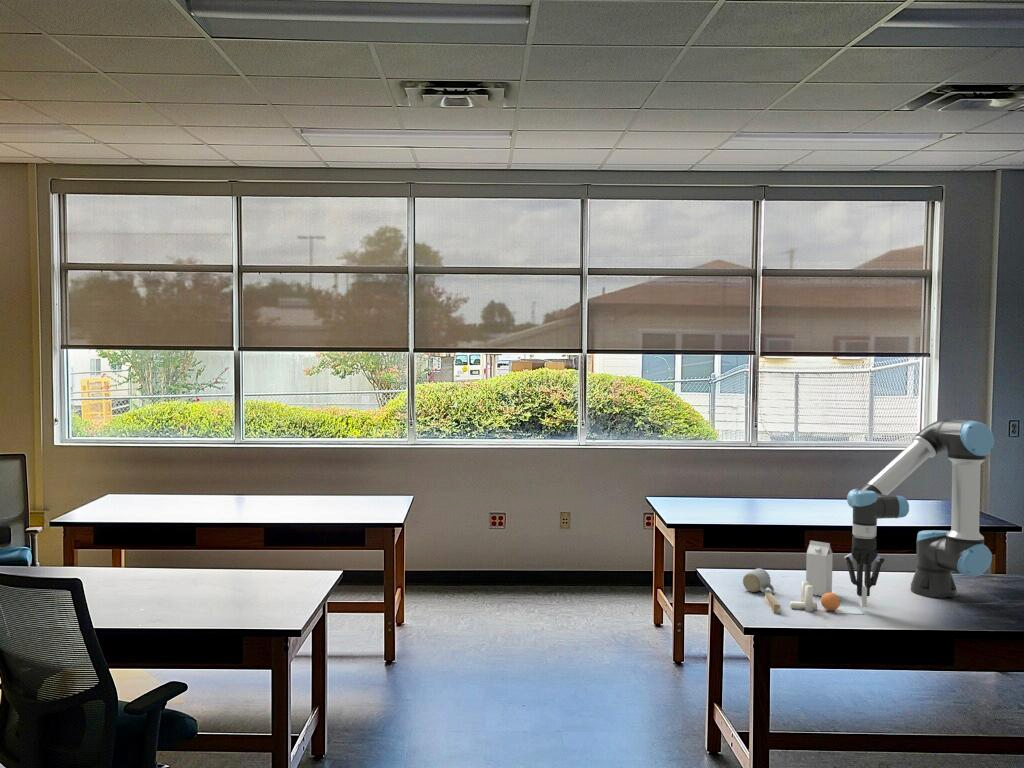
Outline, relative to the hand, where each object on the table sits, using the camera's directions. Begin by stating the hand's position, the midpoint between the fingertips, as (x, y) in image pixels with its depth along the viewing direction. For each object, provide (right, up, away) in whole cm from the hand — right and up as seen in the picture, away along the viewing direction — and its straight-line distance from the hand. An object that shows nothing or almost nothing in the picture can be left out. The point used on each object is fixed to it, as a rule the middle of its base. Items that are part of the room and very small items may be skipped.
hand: (863, 605), depth 269 cm
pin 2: (-19, -2, -1) cm, 19 cm away
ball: (-11, +1, 0) cm, 11 cm away
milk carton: (-7, -2, +21) cm, 22 cm away
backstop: (-30, -2, +3) cm, 30 cm away
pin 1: (-18, -2, +4) cm, 19 cm away
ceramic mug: (-28, -2, +23) cm, 36 cm away
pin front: (-15, -1, +1) cm, 15 cm away
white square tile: (-6, -2, +1) cm, 6 cm away
